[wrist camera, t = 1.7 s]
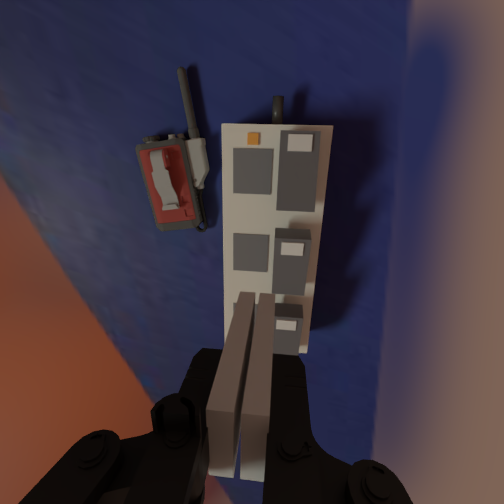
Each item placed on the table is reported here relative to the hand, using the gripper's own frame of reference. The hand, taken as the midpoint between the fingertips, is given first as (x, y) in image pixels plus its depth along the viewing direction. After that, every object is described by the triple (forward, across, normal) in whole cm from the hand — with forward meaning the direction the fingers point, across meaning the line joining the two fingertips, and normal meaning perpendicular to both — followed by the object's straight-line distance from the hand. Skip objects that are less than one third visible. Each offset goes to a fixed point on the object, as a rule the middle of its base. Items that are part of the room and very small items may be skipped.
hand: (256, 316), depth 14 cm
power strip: (+26, 0, -4) cm, 27 cm away
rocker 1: (+20, +2, +5) cm, 21 cm away
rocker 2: (+20, +2, -5) cm, 21 cm away
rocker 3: (+20, +2, -15) cm, 25 cm away
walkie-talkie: (+27, -13, +6) cm, 31 cm away
